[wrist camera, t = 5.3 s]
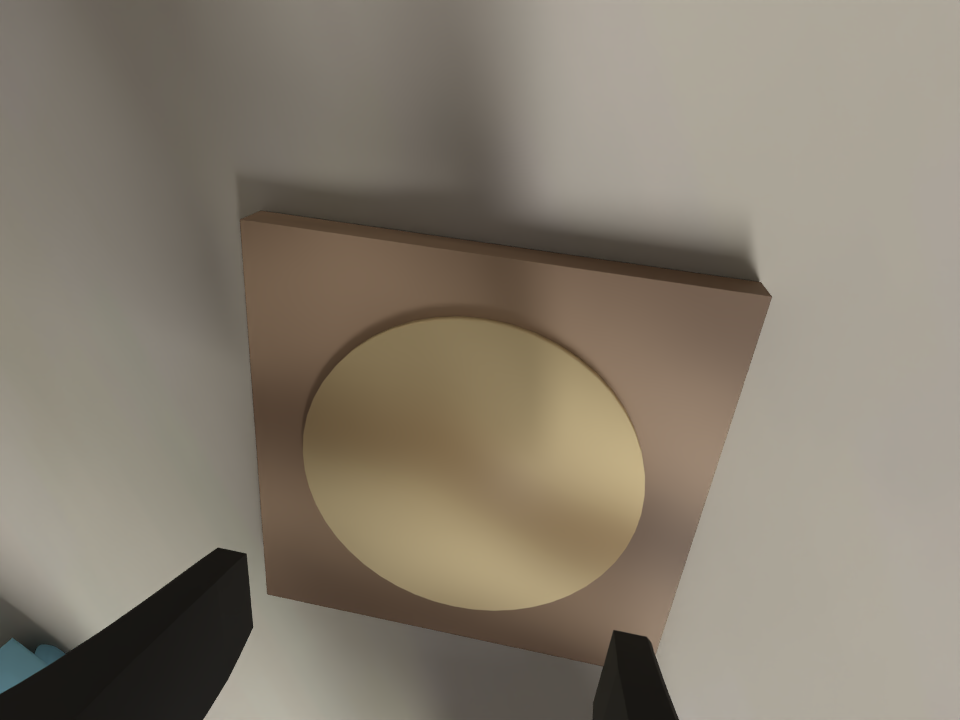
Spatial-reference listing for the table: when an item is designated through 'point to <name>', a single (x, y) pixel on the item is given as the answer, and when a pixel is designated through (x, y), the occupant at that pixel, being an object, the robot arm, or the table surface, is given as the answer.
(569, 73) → the table surface
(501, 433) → the socket base
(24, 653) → the light blue block
